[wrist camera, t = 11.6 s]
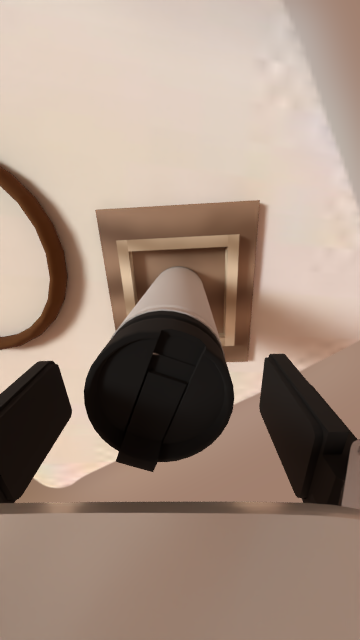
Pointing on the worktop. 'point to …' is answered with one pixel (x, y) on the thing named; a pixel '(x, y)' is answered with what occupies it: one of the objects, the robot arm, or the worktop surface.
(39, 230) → the decorative ring
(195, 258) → the walnut coaster board
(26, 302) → the worktop surface
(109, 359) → the travel mug
